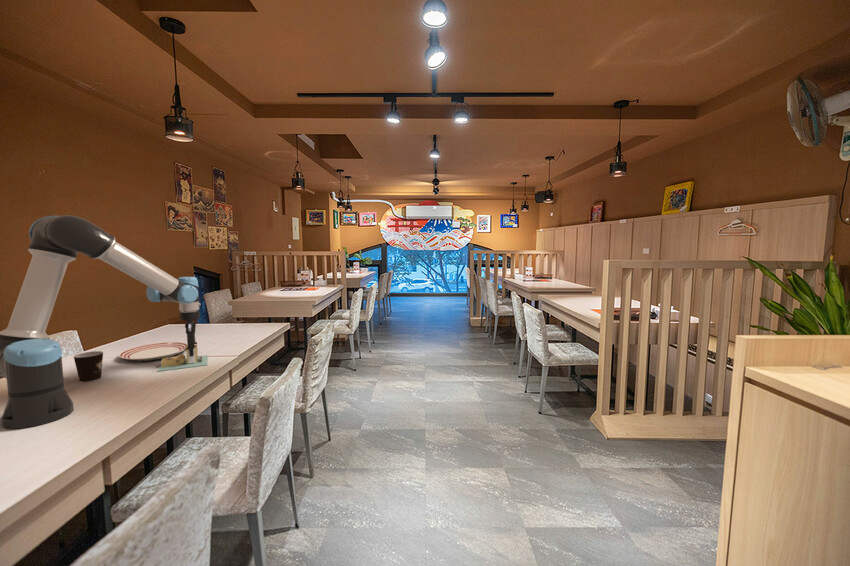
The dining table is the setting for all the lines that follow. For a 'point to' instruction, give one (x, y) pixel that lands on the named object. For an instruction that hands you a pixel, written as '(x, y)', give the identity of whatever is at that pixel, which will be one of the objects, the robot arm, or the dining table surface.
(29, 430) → the dining table surface
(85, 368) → the coffee mug
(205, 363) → the hinge base
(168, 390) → the dining table surface
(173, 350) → the dinner plate
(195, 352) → the yellow tan block
